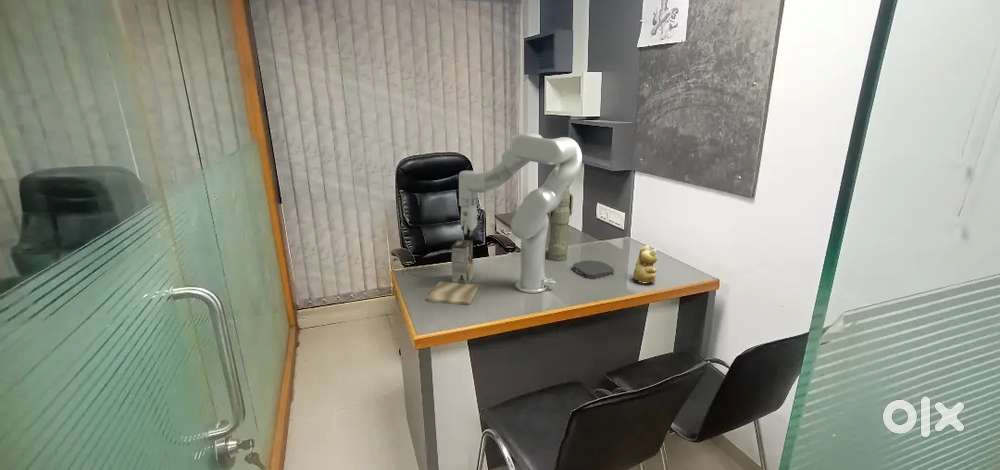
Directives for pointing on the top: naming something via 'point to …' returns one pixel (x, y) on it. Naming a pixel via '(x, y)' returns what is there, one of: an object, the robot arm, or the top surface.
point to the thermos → (560, 228)
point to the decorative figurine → (646, 265)
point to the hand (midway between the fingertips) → (468, 244)
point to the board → (453, 293)
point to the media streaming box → (593, 269)
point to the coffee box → (462, 261)
